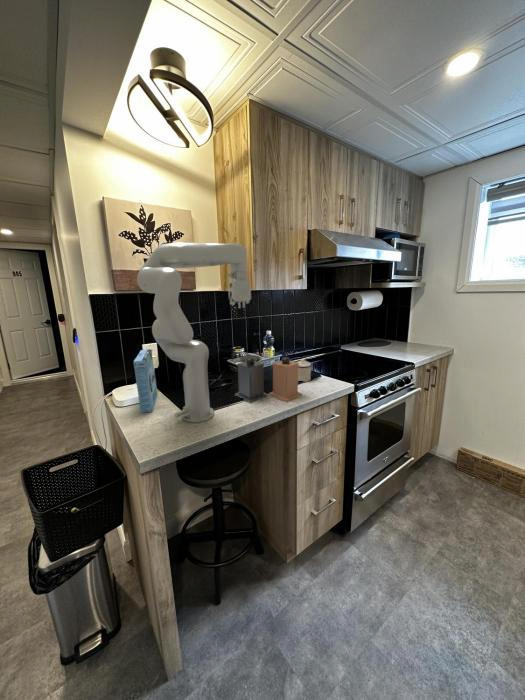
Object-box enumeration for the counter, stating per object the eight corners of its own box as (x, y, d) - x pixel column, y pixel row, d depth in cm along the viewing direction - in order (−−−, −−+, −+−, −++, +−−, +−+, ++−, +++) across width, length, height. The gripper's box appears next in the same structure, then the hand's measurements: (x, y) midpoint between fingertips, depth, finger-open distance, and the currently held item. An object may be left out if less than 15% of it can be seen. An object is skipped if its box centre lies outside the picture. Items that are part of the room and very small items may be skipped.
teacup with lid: (314, 380, 148) (315, 360, 145) (300, 383, 144) (301, 362, 141) (301, 374, 159) (301, 354, 156) (288, 376, 155) (288, 357, 152)
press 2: (286, 402, 122) (286, 368, 118) (266, 394, 131) (266, 362, 127) (301, 395, 130) (302, 363, 126) (282, 388, 139) (282, 357, 134)
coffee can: (243, 379, 152) (242, 354, 148) (261, 379, 151) (261, 355, 147) (239, 386, 142) (238, 360, 138) (259, 386, 141) (258, 360, 137)
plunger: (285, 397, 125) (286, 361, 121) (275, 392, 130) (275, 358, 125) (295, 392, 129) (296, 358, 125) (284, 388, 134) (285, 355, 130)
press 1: (250, 403, 122) (249, 369, 118) (233, 395, 131) (231, 363, 127) (267, 395, 130) (267, 363, 125) (250, 388, 138) (249, 358, 134)
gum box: (152, 412, 115) (146, 360, 109) (139, 413, 114) (132, 361, 108) (157, 393, 134) (152, 348, 128) (146, 395, 132) (140, 349, 126)
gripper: (230, 276, 116) (232, 319, 120) (256, 276, 126) (257, 315, 130) (220, 276, 121) (222, 317, 126) (246, 276, 131) (247, 314, 136)
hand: (240, 316), depth 128 cm, fingers closed
